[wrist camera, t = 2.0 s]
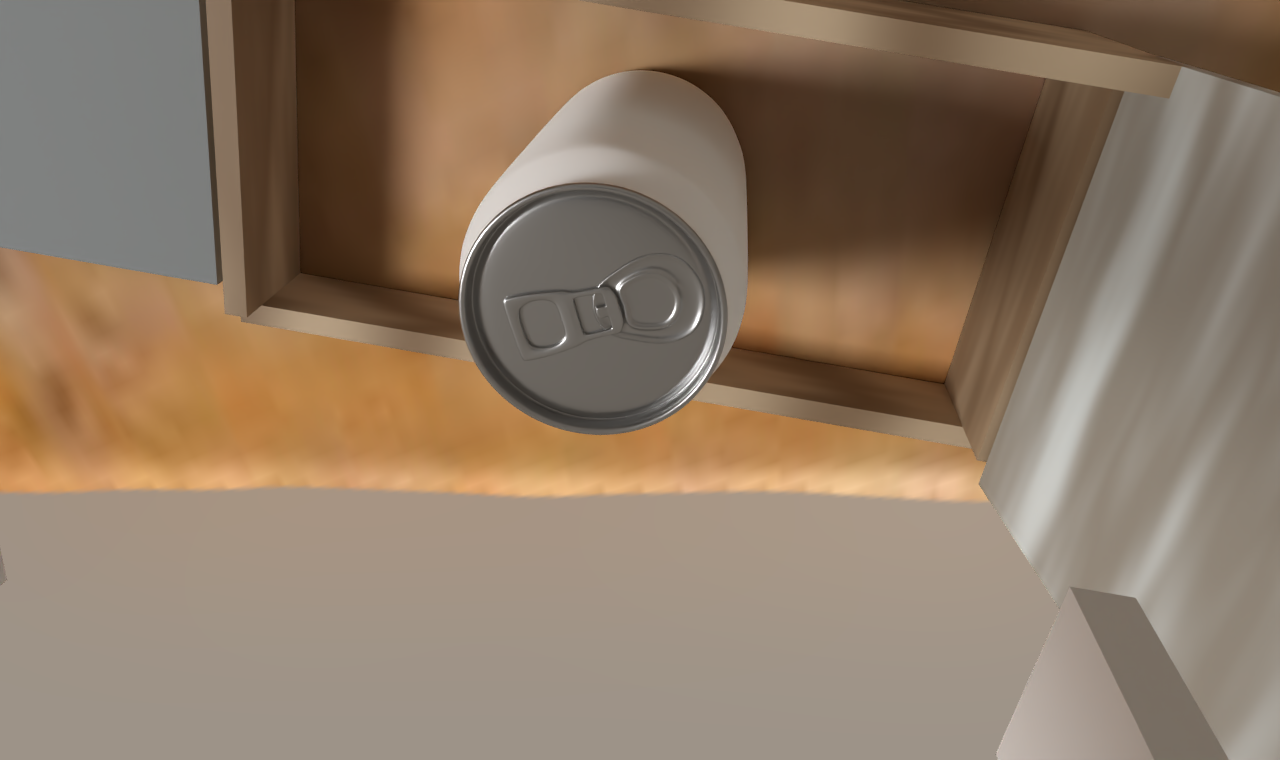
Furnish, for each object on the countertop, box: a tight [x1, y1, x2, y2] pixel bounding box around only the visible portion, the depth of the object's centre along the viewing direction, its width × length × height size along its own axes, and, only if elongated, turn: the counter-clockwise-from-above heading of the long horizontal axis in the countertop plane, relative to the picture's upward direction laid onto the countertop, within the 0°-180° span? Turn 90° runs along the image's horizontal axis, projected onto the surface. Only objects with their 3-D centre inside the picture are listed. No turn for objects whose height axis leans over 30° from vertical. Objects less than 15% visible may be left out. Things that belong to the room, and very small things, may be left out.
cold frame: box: [206, 0, 1280, 760], centre depth 17 cm, size 28×12×29 cm, turn 82°
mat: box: [0, 0, 223, 285], centre depth 30 cm, size 12×12×1 cm
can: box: [458, 70, 748, 435], centre depth 25 cm, size 6×6×12 cm
